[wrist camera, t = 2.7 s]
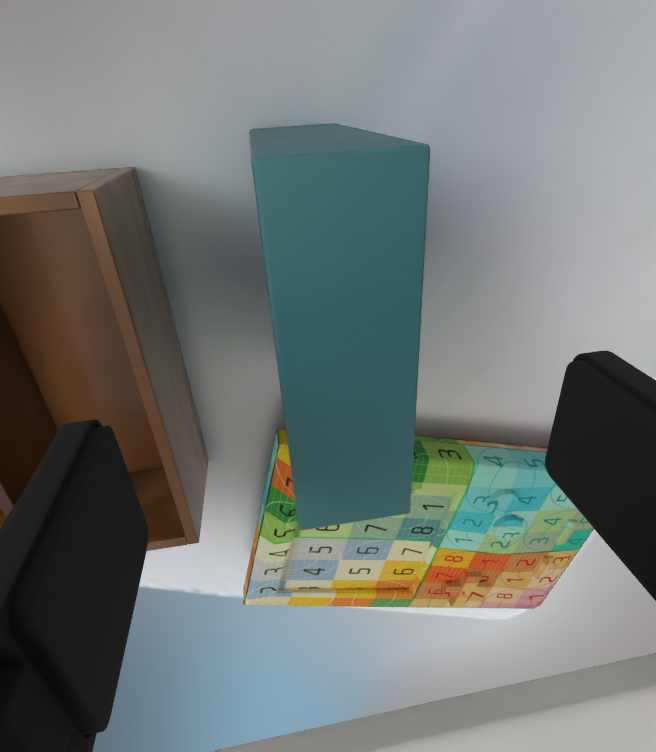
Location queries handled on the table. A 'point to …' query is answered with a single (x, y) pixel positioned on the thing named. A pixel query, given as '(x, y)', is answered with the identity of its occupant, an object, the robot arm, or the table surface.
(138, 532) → the robot arm
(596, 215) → the table surface
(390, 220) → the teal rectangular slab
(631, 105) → the table surface
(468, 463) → the puzzle game
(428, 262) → the table surface
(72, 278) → the caddy
